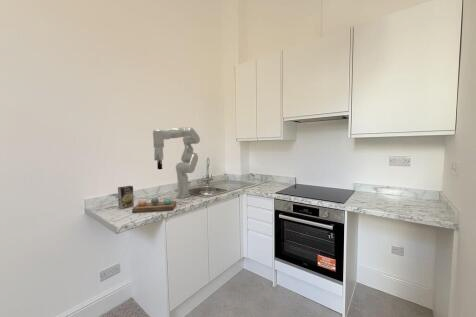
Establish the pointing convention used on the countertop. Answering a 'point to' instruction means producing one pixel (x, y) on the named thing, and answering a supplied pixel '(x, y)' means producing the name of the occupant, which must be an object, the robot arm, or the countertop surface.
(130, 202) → the coffee box
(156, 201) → the button charcoal three
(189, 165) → the robot arm
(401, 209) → the countertop surface
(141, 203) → the button terracotta two
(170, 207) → the button panel
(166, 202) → the button teal one
